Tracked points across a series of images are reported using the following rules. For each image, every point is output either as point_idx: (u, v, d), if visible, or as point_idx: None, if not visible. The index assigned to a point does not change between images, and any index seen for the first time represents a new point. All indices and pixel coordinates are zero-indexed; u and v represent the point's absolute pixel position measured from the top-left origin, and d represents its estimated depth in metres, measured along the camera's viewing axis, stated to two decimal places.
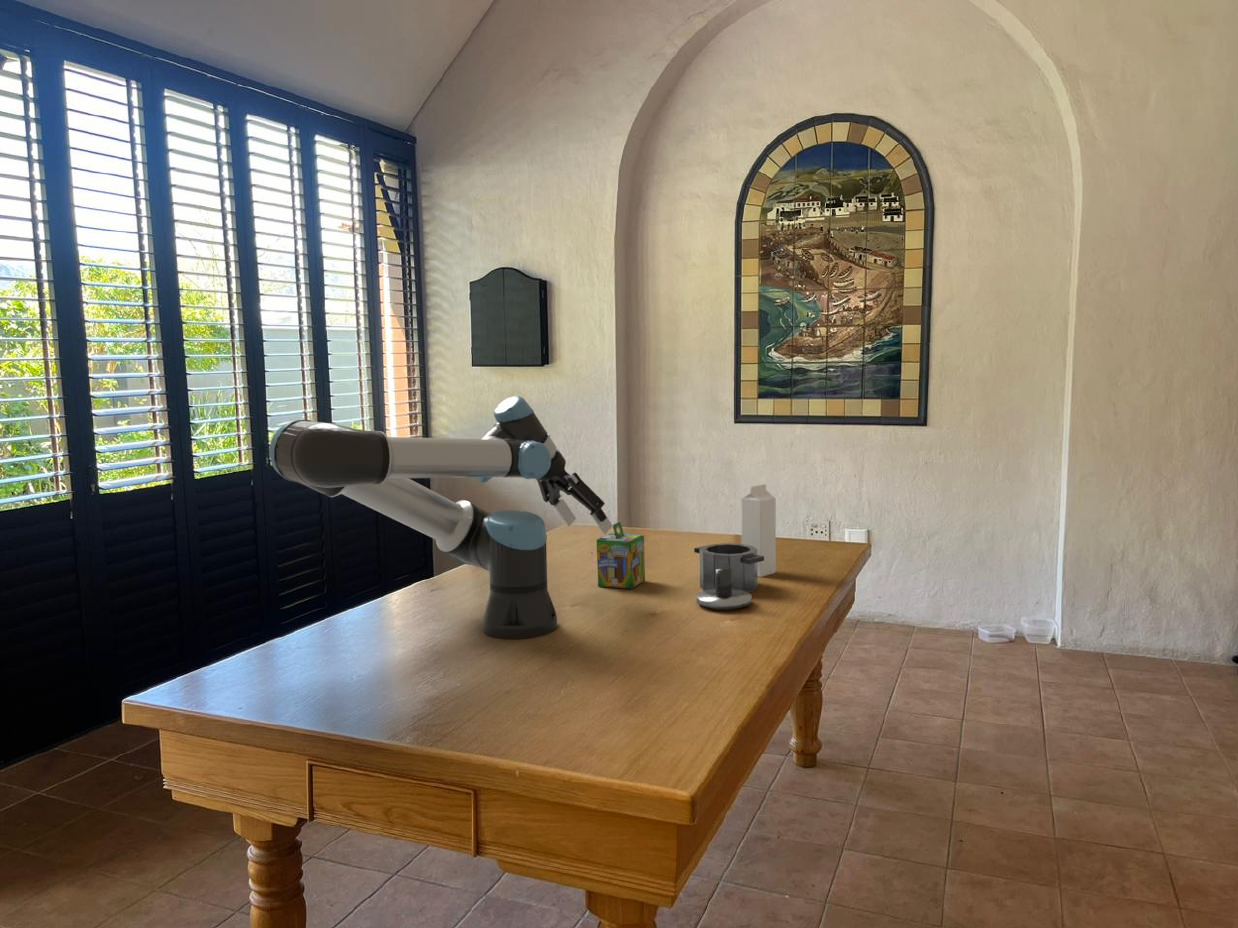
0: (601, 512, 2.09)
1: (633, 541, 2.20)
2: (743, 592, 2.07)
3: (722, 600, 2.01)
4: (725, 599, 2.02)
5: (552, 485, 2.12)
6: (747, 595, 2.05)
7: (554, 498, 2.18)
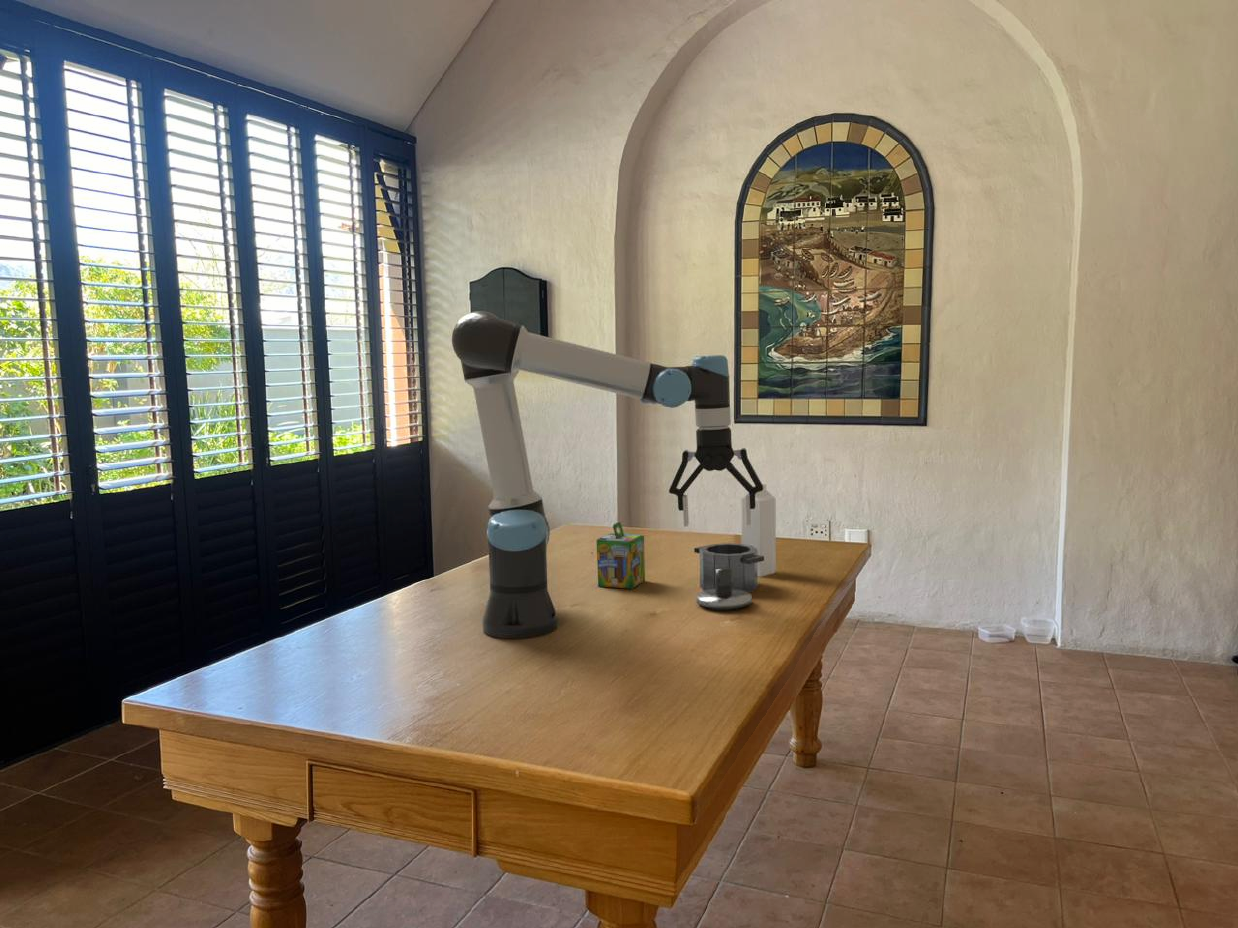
0: None
1: (633, 541, 2.20)
2: (743, 592, 2.07)
3: (722, 600, 2.01)
4: (725, 599, 2.02)
5: (708, 462, 2.01)
6: (747, 595, 2.05)
7: None
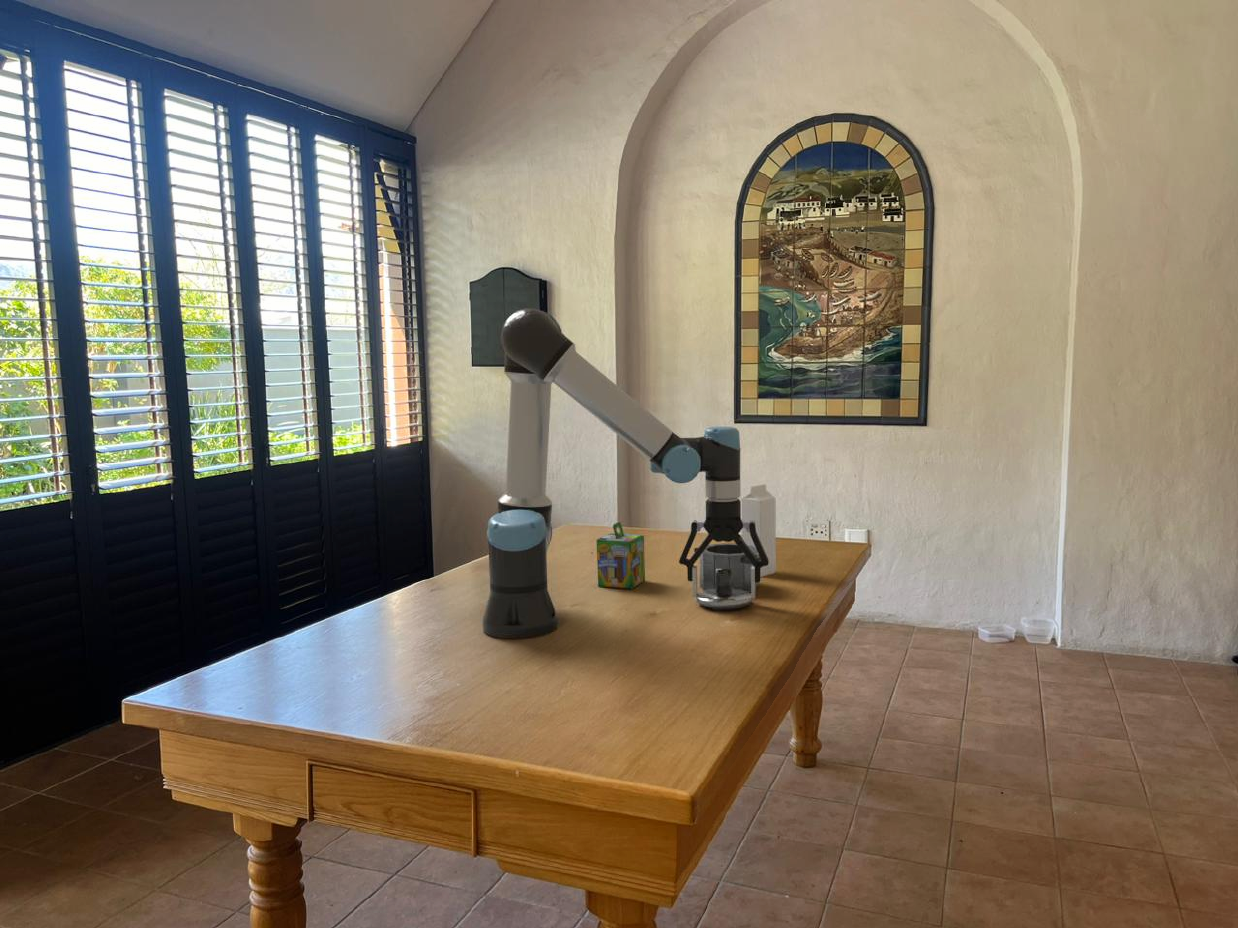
0: None
1: (633, 541, 2.20)
2: (743, 592, 2.07)
3: (722, 600, 2.01)
4: (725, 599, 2.02)
5: (717, 533, 2.02)
6: (747, 594, 2.05)
7: (698, 557, 2.04)
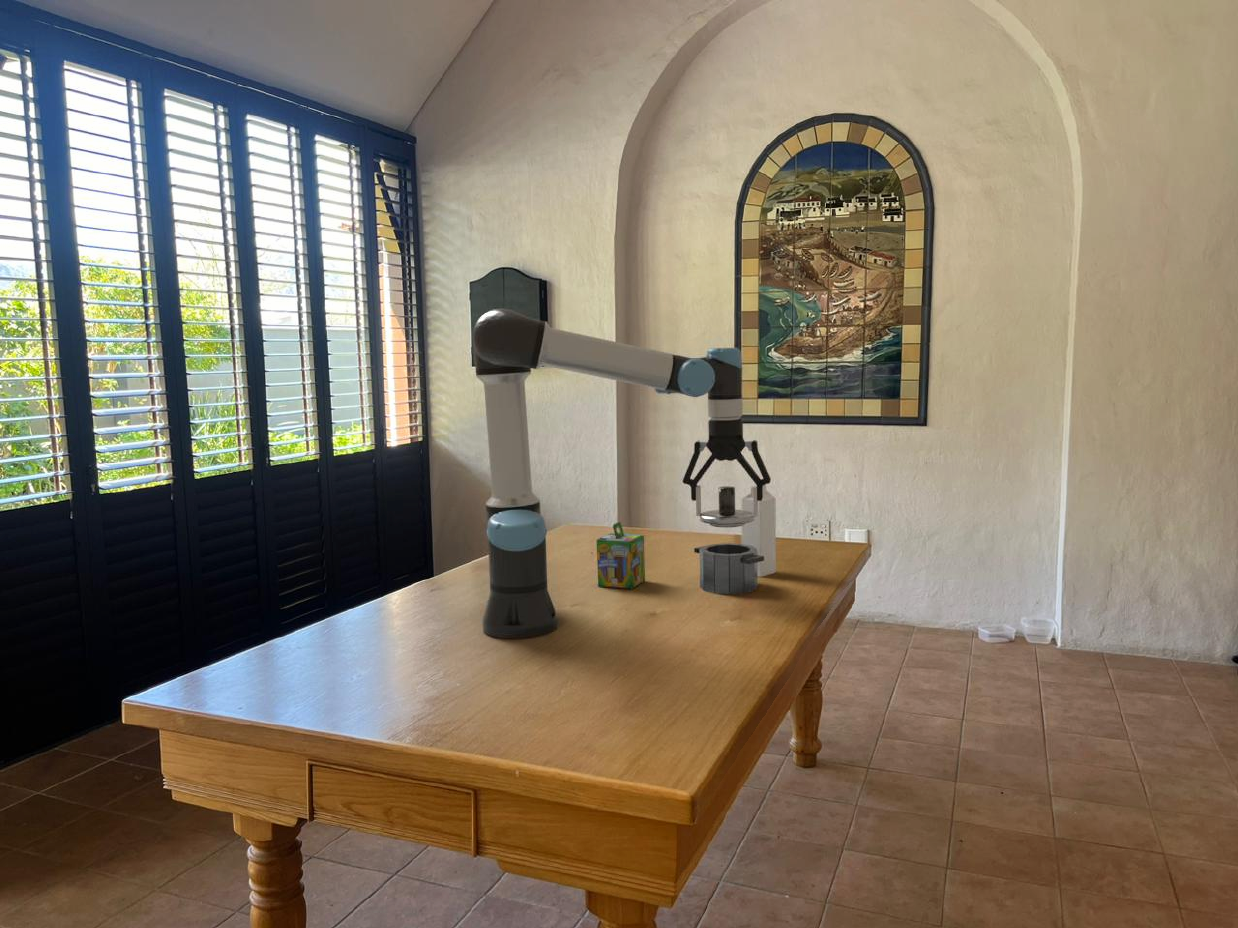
0: (762, 490, 2.07)
1: (633, 541, 2.20)
2: (746, 512, 2.11)
3: (724, 517, 2.04)
4: (728, 516, 2.06)
5: (720, 452, 2.06)
6: (750, 513, 2.08)
7: None
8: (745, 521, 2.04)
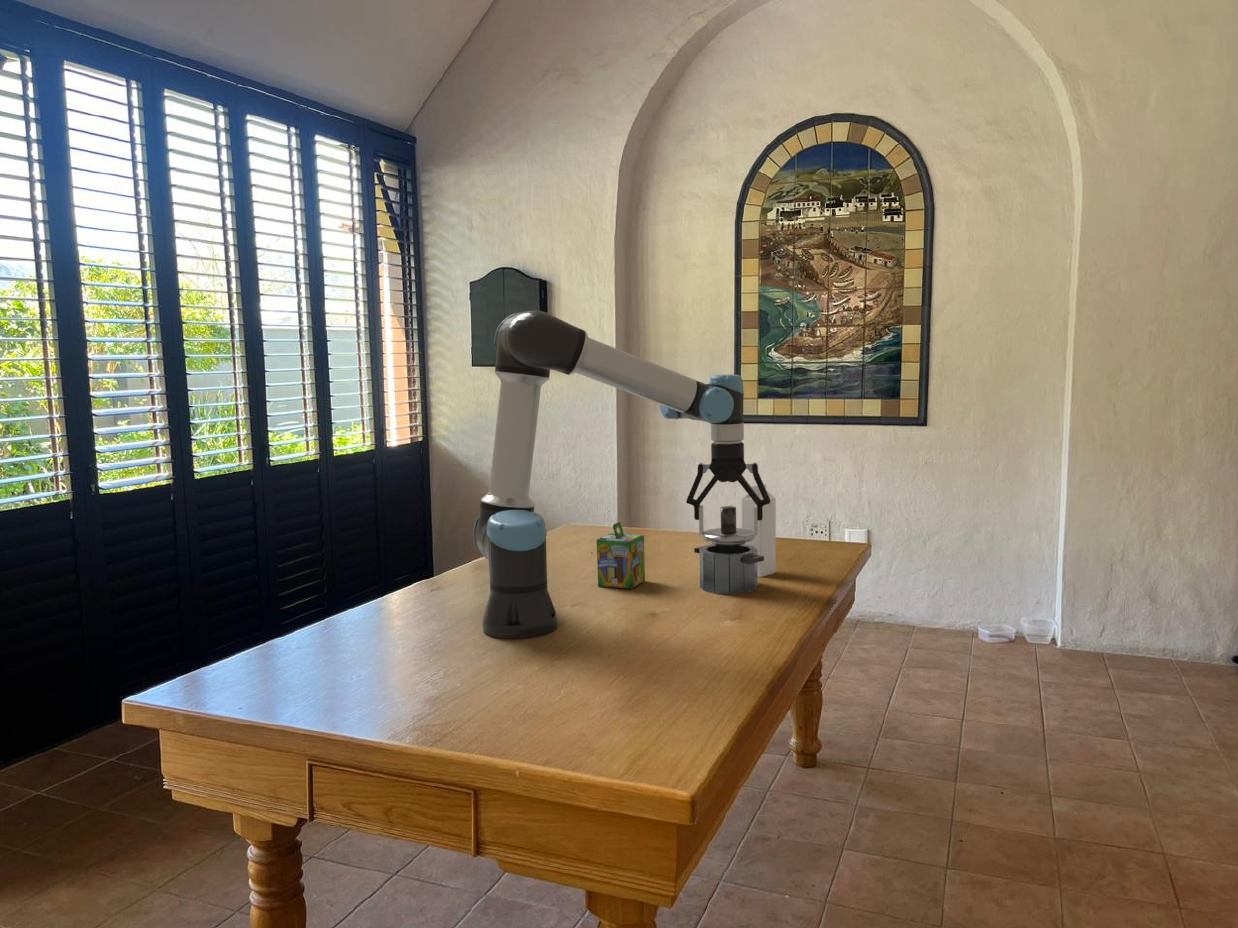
0: (762, 510, 2.17)
1: (633, 541, 2.20)
2: (746, 530, 2.21)
3: (726, 536, 2.15)
4: (730, 535, 2.16)
5: (722, 473, 2.16)
6: (750, 532, 2.19)
7: (704, 497, 2.18)
8: (746, 540, 2.14)
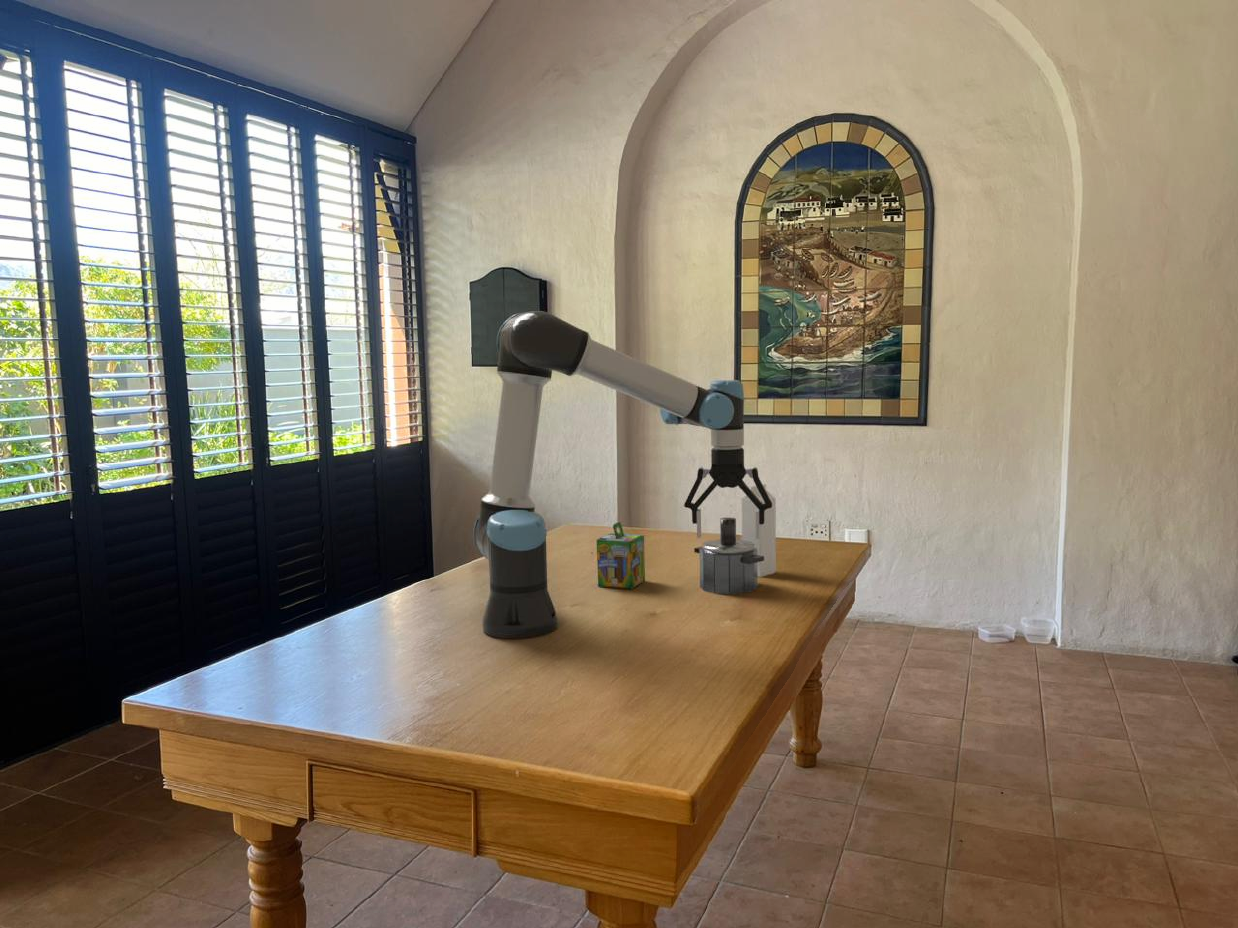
0: None
1: (633, 541, 2.20)
2: (746, 541, 2.21)
3: (726, 548, 2.15)
4: (730, 547, 2.16)
5: (722, 479, 2.16)
6: (750, 543, 2.19)
7: None
8: (746, 551, 2.14)
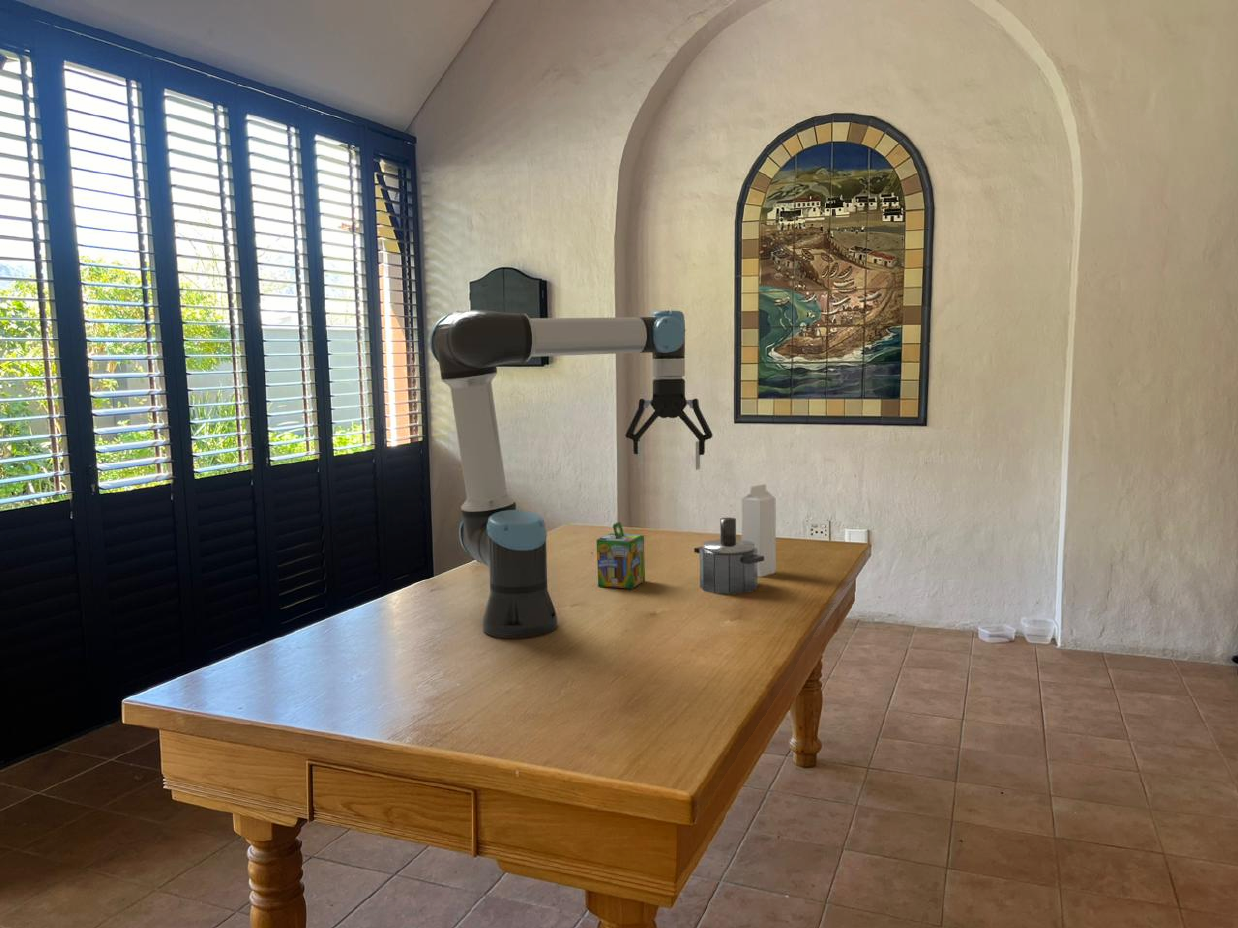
0: (704, 445, 2.18)
1: (633, 541, 2.20)
2: (746, 541, 2.21)
3: (726, 548, 2.15)
4: (730, 547, 2.16)
5: (662, 409, 2.18)
6: (750, 543, 2.19)
7: (644, 432, 2.20)
8: (746, 551, 2.14)
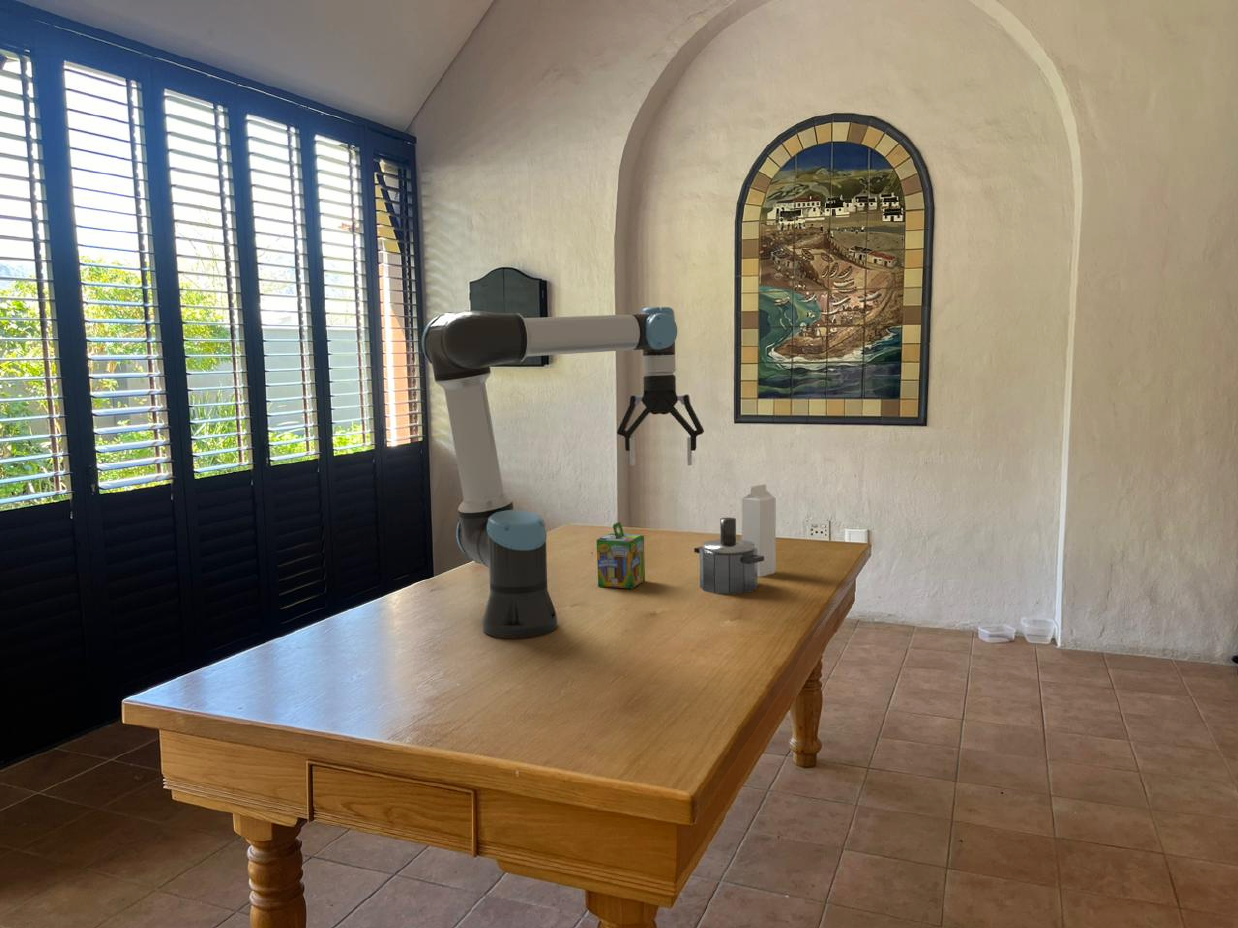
0: None
1: (633, 541, 2.20)
2: (746, 541, 2.21)
3: (726, 548, 2.15)
4: (730, 547, 2.16)
5: (653, 406, 2.18)
6: (750, 543, 2.19)
7: (635, 428, 2.20)
8: (746, 551, 2.14)
